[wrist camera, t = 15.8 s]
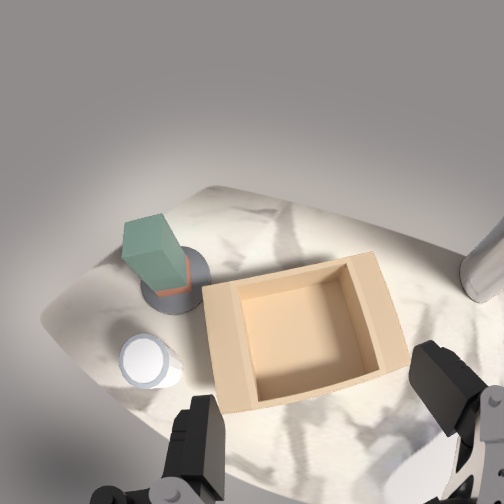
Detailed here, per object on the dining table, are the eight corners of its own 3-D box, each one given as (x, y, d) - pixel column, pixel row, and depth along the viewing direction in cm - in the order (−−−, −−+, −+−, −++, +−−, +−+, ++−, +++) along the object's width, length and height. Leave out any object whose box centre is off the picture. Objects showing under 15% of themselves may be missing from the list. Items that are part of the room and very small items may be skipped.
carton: (361, 270, 39) (372, 251, 34) (392, 369, 31) (411, 363, 26) (211, 302, 38) (201, 286, 33) (229, 411, 31) (220, 414, 25)
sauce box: (189, 260, 41) (162, 212, 31) (192, 291, 38) (162, 249, 28) (158, 267, 41) (124, 222, 31) (159, 297, 38) (121, 258, 28)
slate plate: (197, 239, 44) (195, 235, 43) (221, 297, 39) (220, 294, 38) (137, 265, 43) (135, 262, 42) (153, 325, 37) (151, 323, 36)
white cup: (157, 335, 36) (135, 322, 30) (196, 359, 34) (179, 351, 28) (135, 374, 34) (109, 367, 28) (172, 400, 32) (151, 400, 26)
